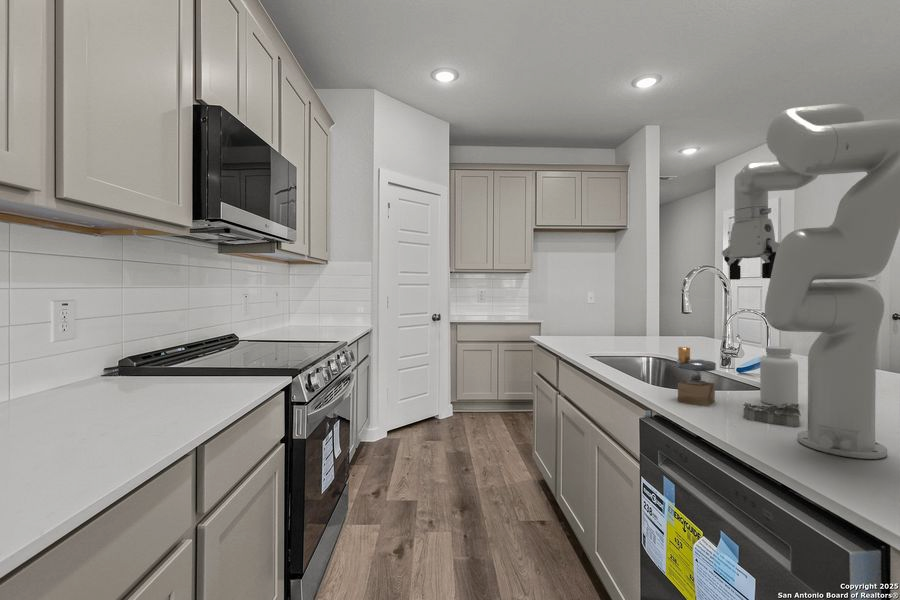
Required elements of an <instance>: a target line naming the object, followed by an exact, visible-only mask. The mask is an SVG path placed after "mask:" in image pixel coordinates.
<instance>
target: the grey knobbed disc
mask: <svg viewBox="0 0 900 600" xmlns="http://www.w3.org/2000/svg"><path fill="white" fill-rule="evenodd" d="M677 349H678V350H677V353H678V356H677V357H678V358H677V360H676V363H677V368H678V369H681V370H687V371H691V380H699V381H702V372H710V371H711V372H712V371H713V372H714V371H716V370H717V363H716V362H714V361H710V360H704V359H701V358H699V359H691V347H688V346H687V347H686V346H678V347H677Z"/></svg>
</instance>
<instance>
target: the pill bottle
mask: <svg viewBox="0 0 900 600" xmlns="http://www.w3.org/2000/svg"><path fill="white" fill-rule="evenodd" d="M765 354H766V355H765V356H763V357H762V358H761V359H760V362H759V363H760V365H759V366H760V367H759V368H760V369H759V370H760V373H759V375H760V376H759V377H760V378H759V379H760V381H759V382H760V385H759V386H760V390H759V391H760V392H759V393H760V401H761V402H762V403H764V404H768V405H770V404H771V405H770V406H773V405H778V406H781V405H782V403H783V404H786V403H788V404H791V403H792V404H798V405H799V403H798V402H799V364H798V361H797V360H796V359H795V358H793V357H791V356H792V348H791V347H789V346H780V345H779V346H778V345H771V346H770V345H769V346H766V347H765Z"/></svg>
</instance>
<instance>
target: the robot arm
mask: <svg viewBox="0 0 900 600" xmlns="http://www.w3.org/2000/svg"><path fill="white" fill-rule="evenodd" d="M765 140H766V145H767V148H768V150H769V151H770V152H771V154H773V156H775V158H776V160H766V161H765V160H763V161H754V162H750V163H747V164H746V165H745V166H743V168H742V169H741V170H740V171H739V172H738V173H736V174H735V176H734V180H733V181H734V188H733V189H734V196H733V197H734V205H733V206H734V207H733V208H734V209H733V210H734V213H733V215H734V219H733V221H734V222H733V223H732V226H731V231H730V239H729V246H728V247H726V248H725V249H723V250H722V252H721V254H722V257H723V259H724V261H725V262H726V263H727V266H729V280H733V281H734V280H741V277H742V276H741V272H742V271H741V267H742V266H741V265H740V264H741V261H742V260H743V259H755V258H756V259H757V258H760V259H761V260H762V261H763V262H762V263H761V278H762V279H769V283H768V287H767V292H766V297H765V301H764V302H765V303H764V315H765V319H766V321H767V323H768V324H769V325H770V326H771V327H772V328H773V329H775V330H778V331H782V332H795V333H797V332H799V333H804V332H805V333H820V334H819V335H818V337H817V338H816V339H815V340H814V341H813V343H812V344H811V346H810V348H809V351H808V354H807V430H802V431H800V432H797V437H796V438H797V441H798V442H799V443H801V444H802V445H804V446H806V447H807V448H811V449H813V450H816V451H819V452H822V453H826V454H830V455H831V454H832V455H834V456H835V455H836V456H839V457H840V456H841V457H844V458H845V457H847V458H852V459H861V460H862V459H866V460H877V459H883V458H885V457H887V456H888V448H887V447H886V446H884V445H883V444H881V443H880V442H877V441H876V393H877V392H876V391H877V390H876V387H877V386H876V379H877V378H876V377H877V376H876V373H877V345H878V337H879V332H880V328H881V324H882V321H883V317H884V314H885V300H884V298H883V296H882V294H881V293H880V292H879V291H878V290H877V289H876V288H874V287H873V286H870V285H867V284H864V283H861V282H855V281H854V282H853V281H852V282H851V281H822V280H856V279H867V278H868V279H869V278H872V277H875V276H877V275H879V274H881V273H882V272H883V271H884V269H885V268H886V267H887V265H888V263H889V260H890V258H891V255H892V252H893V250H894V248H895V244H896V240H897V238H898V235H899V233H900V119H898V118H895V119H893V118H891V119H890V118H888V119H874V120H865V116H864V114H863V112H862V110H861V109H860V108H858V107H857V106H855V105H852V104H848V103H829V104H819V105H818V104H817V105H809V106H806V105H805V106H797V107H791V108H787V109H784V110H783V111H781V112H780V113H779V114H777V115H776V116H775V117H774V118H773V120H772V121H771V123H770V124H769V126H768V129H767V133H766V139H765ZM849 173H851V174H855V173H866V175H865V176H864V177H863V178H861V179H859V180H858V181H857V182H855V184H853V186H851V187H850V188H849V189H848V190H847V191H846V192H845V194H844V195H843V196H842V198H841V199H840V201H839V202H838V206H837V210H836V213H835V216H834V220H833V222H832V223H831V224H830V225H829V226H826V227H822V226H821V227H807V228H799V229H795V230H792V231H791V232H789V233H788V234H786V235H785V236H784V238H782V239H781V241H780V242H779V241H776V235H775V230H774V225H773V222H772V219H771V218H769V214H771V213H772V209H771V208H769V192H777V191H794V190H797V189H800V188H803V187H805V186H806V185H808V184H810V183H812V182H813V181H815V180H816V179H817V178H818V177H819V176H820V175H822V176H823V175H837V174H839V175H840V174H849ZM818 280H821V281H820V282H814V281H818Z"/></svg>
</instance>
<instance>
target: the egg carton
mask: <svg viewBox="0 0 900 600" xmlns="http://www.w3.org/2000/svg"><path fill="white" fill-rule="evenodd" d="M742 406H743V418H744V419H746V418H747V420H749V421H752V420H753V422H755V420H756V421H760V420H762V421H763V422H765V421H766V422H765V423H768V424H772V423H773V424H781V423H782V425H785V426H786V425H787V426H786V427H799V426H800V417H801V412H800V406H799V403H798V404H792V403H791V404H788V403H786V404H783V403H782V405H781V406H778V405H766V404H752V403H749V402H744V403H743V404H742ZM762 421H761V422H762Z"/></svg>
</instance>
